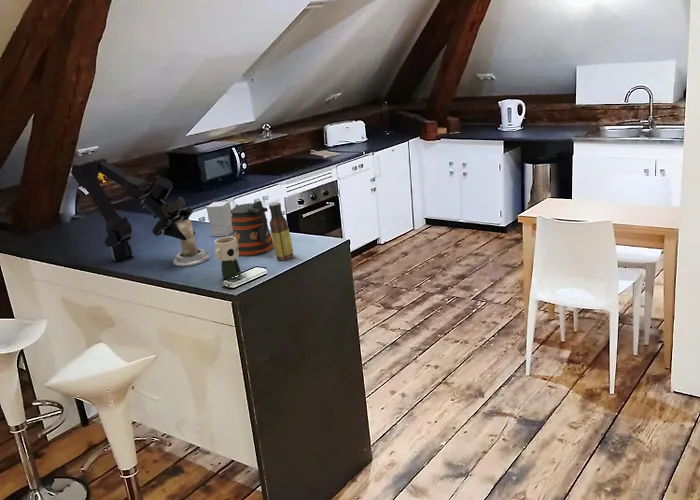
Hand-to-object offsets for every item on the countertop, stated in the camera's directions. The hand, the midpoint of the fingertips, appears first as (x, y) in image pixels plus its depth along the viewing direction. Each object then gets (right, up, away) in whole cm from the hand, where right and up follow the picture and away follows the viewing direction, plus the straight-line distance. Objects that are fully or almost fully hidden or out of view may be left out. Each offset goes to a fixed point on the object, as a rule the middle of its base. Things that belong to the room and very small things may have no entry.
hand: (190, 237), depth 247 cm
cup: (-17, +4, +47) cm, 50 cm away
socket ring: (0, -8, +3) cm, 9 cm away
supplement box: (+6, +2, +32) cm, 33 cm away
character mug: (+18, -14, -19) cm, 29 cm away
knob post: (0, -6, +3) cm, 7 cm away
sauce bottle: (+35, -8, -7) cm, 36 cm away
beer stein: (+24, -5, +5) cm, 25 cm away
